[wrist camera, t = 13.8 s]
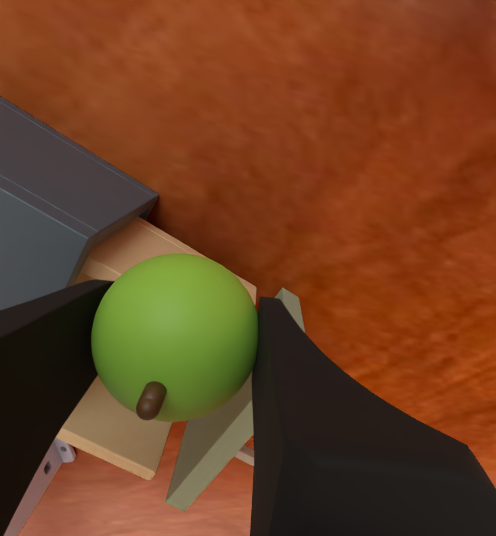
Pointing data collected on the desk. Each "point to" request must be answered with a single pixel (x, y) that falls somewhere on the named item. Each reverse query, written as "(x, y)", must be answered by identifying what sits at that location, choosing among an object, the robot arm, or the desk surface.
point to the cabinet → (55, 206)
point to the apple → (175, 337)
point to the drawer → (152, 431)
